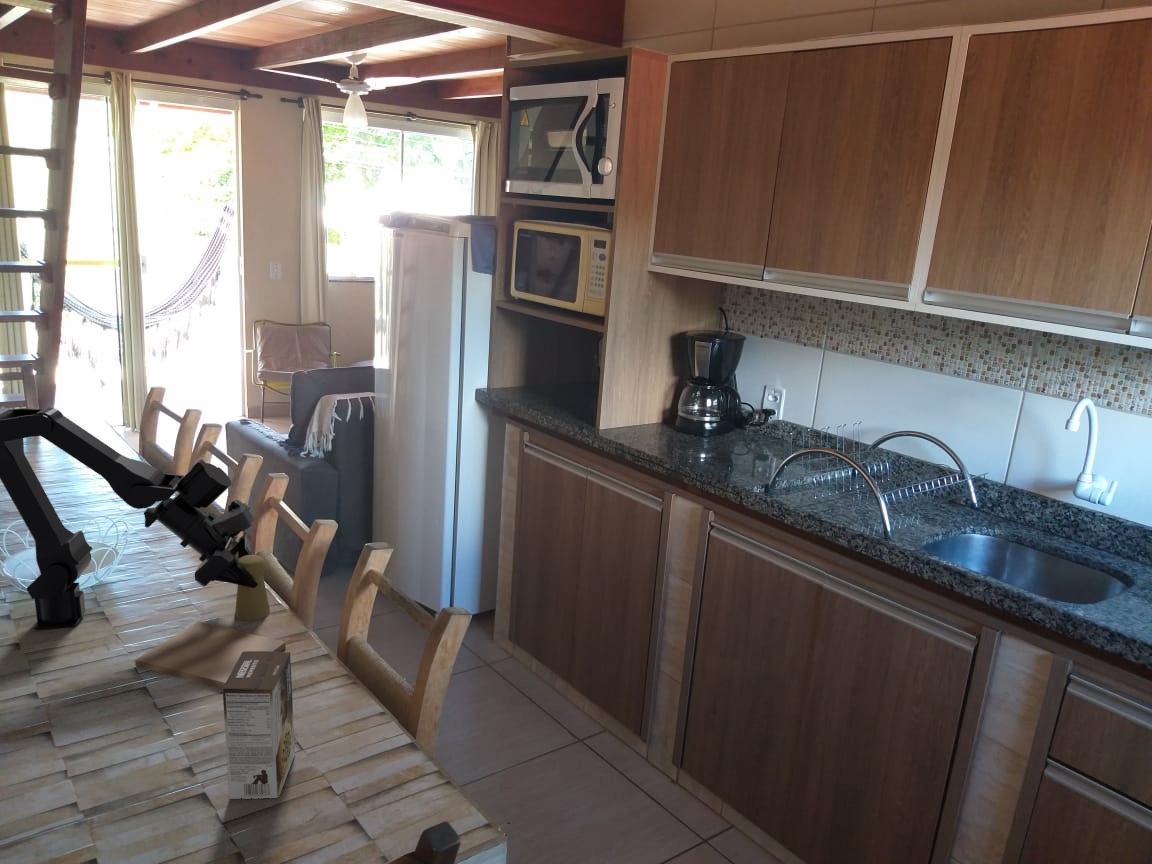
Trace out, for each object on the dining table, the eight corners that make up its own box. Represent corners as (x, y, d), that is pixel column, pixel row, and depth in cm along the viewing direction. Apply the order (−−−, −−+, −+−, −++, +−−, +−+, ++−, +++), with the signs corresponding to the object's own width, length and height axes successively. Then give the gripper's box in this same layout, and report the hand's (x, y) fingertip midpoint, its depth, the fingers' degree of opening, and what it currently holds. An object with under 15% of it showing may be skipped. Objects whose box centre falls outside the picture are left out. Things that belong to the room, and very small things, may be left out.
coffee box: (248, 755, 115) (242, 649, 111) (296, 754, 115) (292, 649, 111) (227, 800, 106) (219, 687, 102) (279, 800, 106) (274, 687, 102)
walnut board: (135, 666, 134) (135, 659, 134) (198, 627, 147) (198, 621, 147) (228, 690, 129) (228, 683, 129) (285, 648, 142) (285, 641, 142)
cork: (258, 622, 150) (255, 566, 147) (227, 617, 151) (224, 561, 148) (276, 608, 156) (274, 553, 153) (247, 603, 157) (244, 549, 154)
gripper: (210, 511, 138) (283, 571, 143) (233, 476, 156) (297, 530, 161) (163, 557, 138) (237, 615, 143) (190, 517, 156) (255, 569, 161)
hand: (259, 579), depth 152 cm, fingers closed on cork, 5 cm apart
